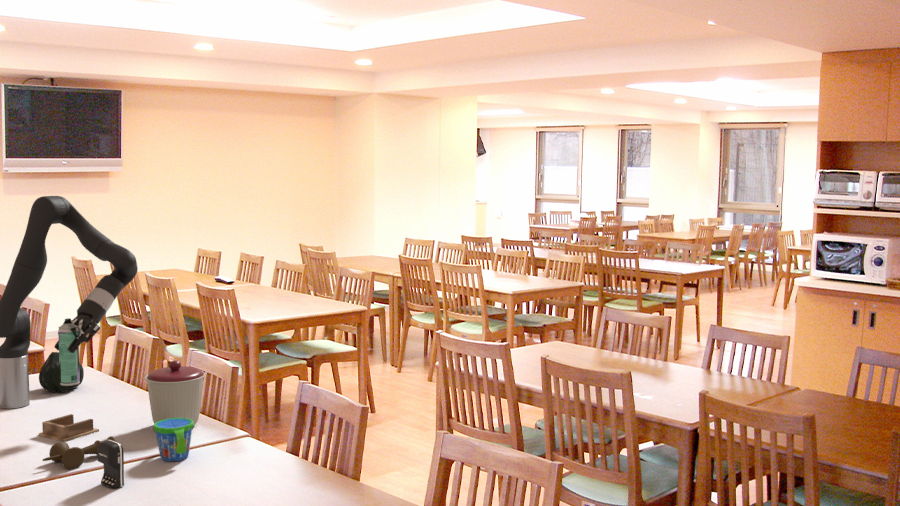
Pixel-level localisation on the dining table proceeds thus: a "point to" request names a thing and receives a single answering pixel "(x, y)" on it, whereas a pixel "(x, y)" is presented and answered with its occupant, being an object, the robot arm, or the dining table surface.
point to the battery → (111, 463)
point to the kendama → (72, 453)
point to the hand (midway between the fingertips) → (63, 350)
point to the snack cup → (174, 438)
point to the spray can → (68, 354)
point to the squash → (55, 374)
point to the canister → (175, 392)
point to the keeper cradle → (67, 428)
